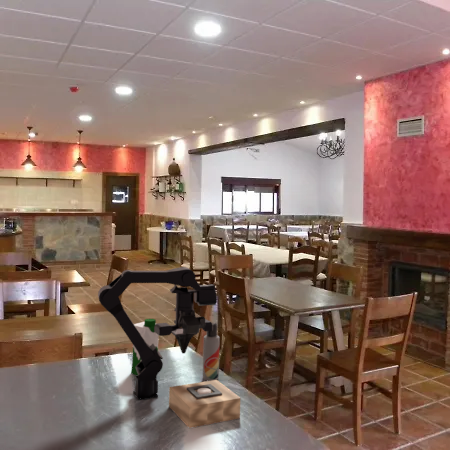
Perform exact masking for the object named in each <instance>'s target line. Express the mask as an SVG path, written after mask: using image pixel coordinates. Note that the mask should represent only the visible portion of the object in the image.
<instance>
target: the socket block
mask: <svg viewBox="0 0 450 450" xmlns="http://www.w3.org/2000/svg"><path fill="white" fill-rule="evenodd" d="M168 388H169V389H168V390H169V392H168V393H169V396H168V397H169V399H168V407H169V408H170V409H171V410H172V411H173V413H175V415H176V417H177V416H178V418H179V419H180V420H181V421H182V422H183V423H184V424H185V425H186V426H187V428H188V427H189V428H188V429H191V428H192V427H193V428H197V426H198V427H201V426H202V427H204V426H208V425H213V424H217V423H222V422H228V421H232V420H238V419H240V418H241V397H240V396H239V395H237V394H236V393H235V392H233V390H231V389H229V388H228V387H227V386H226V385H224V384H223V383H221V382H220V381H219V380H218V379H217V380H212V381H207V380H205V381H200V382H193V383H189V384H187V383H186V384H180V385H173V386H169V387H168ZM200 388H208V389H210V390H211V393H207V394H201V395H200V394H199V393H197V390H198V389H200ZM193 428H192V429H193Z"/></svg>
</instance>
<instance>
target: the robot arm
mask: <svg viewBox="0 0 450 450" xmlns="http://www.w3.org/2000/svg"><path fill="white" fill-rule="evenodd" d="M131 284H168V285H169V284H170V285H174V286H173V287H171V288H170V289H169V292H170V293H171V294H175V307H174V312H175V319H174V320H173V322H174V324H169V323H168V322H161V323H160V322H159V323H158V322H156V325H155V327H154V332H155V333H157V334H158V335H159V336H160V337H165V336H170V335H171V334H172V335H173V336H174V337H175V339H176V341H177V343H178V346H179V349H180V352H181V353H182V354H186V352H187V349H188V346H189V345H190V343H191V340H192V338H193V337H195V336H197V334H200V329H202V330H203V331H204V332H207V331H213V324H212V323H213V322H212V321H210V320H209V319H206V318H205V316H196V312H195V309H194V302H195V303H197V305H198V307H199V306H216V305H217V303H218V302H217V301H218V296H217V290H216V286H215V284H206V285H205V284H200V283H199V282H198V281H197V279H196V274H195V272H194V271H193V270H192V269H190V268H189V267H186V266H182V267H180V266H179V267H175V268H170V269H167V270H130V269H125V270H123V271H122V272H121V273H120V274H119V275H118V276H117V277H116V278H114V279H113V280H112V281H111V282H110V283H109V284H108V285H103V286H101V288H100V289H99V290H98V293H97V297H98V301H99V303H100V304H101V306H102V307H103V308H104V309H105V310H106V311H107V312H109V313H110V314H111V315H112V316H113V317H114V319H115V320H116V321H117V323H118V325H119V326H120V327H121V328H122V330H123V332H124V333H125V335H126V337H127V338H128V339H129V341H130V342H131V344H132V346H133V345H134V347H135V348H136V350H137V351H138V353H139V356H140V358H141V360H142V361H141V362H140V363H139V364H138V365H137V366H136V367H135V368H136V371H137V373H138V376H137V375H134V391H133V392H132V393H133V395H134V396H135V398H136V399H137V400H138V401H141V400H146V399H147V400H148V399H154V398H158V397H159V395H158V393H159V380H158V377H157V376H158V374H159V373H160V372H161V371H162V369H163V365H164V362H163V361H162V360H163V358H164V357H162V355H161V353H160V351H159V350H158V351H157V349H156V347H155V346H154V344H152V345H151V346H149V345H148V344H147V343H146V342H145V340H144V339H143V337H142V336H141V334H140V333H139V331H138V330H137V328H136V327H135V325H134V324H135V323H134V322H133V321H132V320H131V318H130V316H129V315H128V313H127V311H125V309H124V307H123V304H122V302H121V299H120V296H122V295H123V293H124V292H125V291H126V289H127V288H128V287H129V286H130V285H131ZM188 288H191V289H188ZM159 336H158V337H159Z"/></svg>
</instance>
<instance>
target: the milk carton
mask: <svg viewBox="0 0 450 450" xmlns="http://www.w3.org/2000/svg"><path fill="white" fill-rule="evenodd" d="M133 324H134V325H135V327H136V328H137V330H138V331H139V333H140V334H141V336H142V337H143V339H144V340H145V342H146V343H147V344H148V345H149V346H151V345H152V344H154V346H155V347H156V349H157V351H158V352H159V335H158V334H157V333H155V332H154V327H155V325H156V324H157V320H156V319H155V318H145V319H144V321H142V322H137V323H133ZM141 361H142V360H141V358H140V356H139V353H138V351H137V350H136V348H135V347H134V345H133V344H132V361H131V371H130V374H132V375H134V376H138V373H137V371H136V368H135V367H136V366H137V365H138V364H139V363H140V362H141Z"/></svg>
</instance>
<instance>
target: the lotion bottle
mask: <svg viewBox="0 0 450 450" xmlns="http://www.w3.org/2000/svg"><path fill="white" fill-rule="evenodd" d="M212 324H213V331H206V334H205V335H204V336H203V347H202V349H203V352H202V353H203V354H202V380H205V381H212V380H217V381H218V379H219V374H220V371H219V370H220V336H219V335H218V324H217V322H212Z"/></svg>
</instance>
